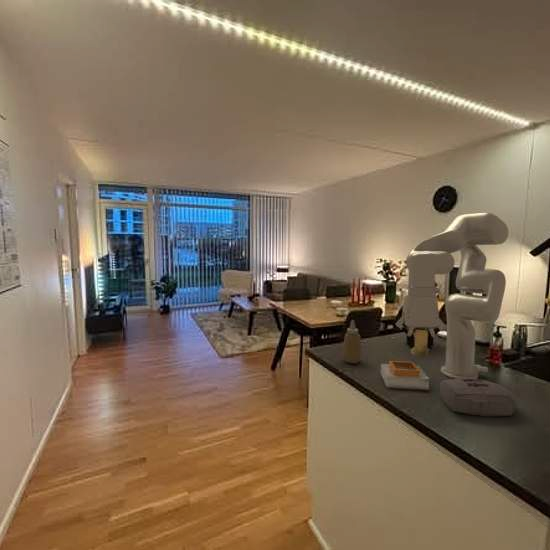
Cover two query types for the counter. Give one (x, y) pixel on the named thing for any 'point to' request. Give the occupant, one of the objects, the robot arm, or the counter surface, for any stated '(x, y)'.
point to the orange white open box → (404, 375)
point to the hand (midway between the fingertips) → (419, 347)
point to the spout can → (420, 341)
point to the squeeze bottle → (352, 345)
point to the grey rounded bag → (477, 397)
